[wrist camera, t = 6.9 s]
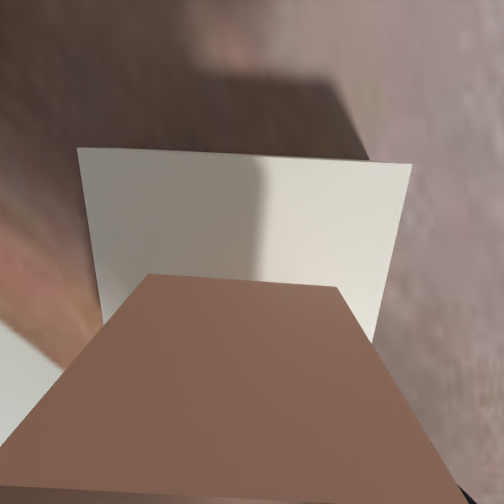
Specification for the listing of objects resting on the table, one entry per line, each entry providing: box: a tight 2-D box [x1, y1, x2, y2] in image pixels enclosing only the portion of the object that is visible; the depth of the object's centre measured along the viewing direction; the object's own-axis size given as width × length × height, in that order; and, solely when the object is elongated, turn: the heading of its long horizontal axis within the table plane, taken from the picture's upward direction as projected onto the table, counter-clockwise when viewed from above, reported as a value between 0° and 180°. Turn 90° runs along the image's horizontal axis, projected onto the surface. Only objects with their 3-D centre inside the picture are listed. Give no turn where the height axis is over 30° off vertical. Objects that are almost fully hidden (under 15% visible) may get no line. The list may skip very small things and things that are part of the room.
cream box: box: [77, 148, 412, 344], centre depth 13 cm, size 11×11×4 cm
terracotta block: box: [0, 273, 469, 504], centre depth 6 cm, size 5×5×5 cm
